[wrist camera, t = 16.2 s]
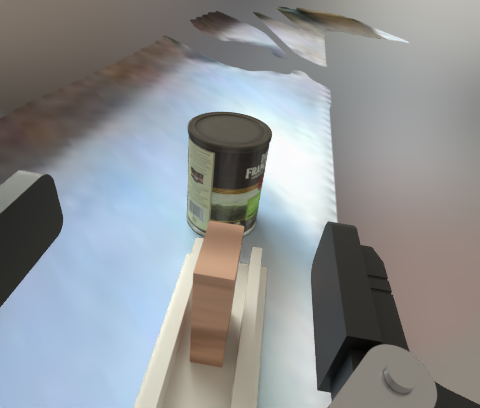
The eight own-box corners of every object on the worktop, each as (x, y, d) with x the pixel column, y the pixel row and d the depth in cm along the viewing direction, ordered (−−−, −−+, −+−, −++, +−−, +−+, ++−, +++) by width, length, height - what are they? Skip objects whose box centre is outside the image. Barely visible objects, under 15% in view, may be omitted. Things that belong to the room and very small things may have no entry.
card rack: (248, 498, 25) (255, 480, 23) (113, 473, 25) (107, 453, 23) (266, 272, 43) (271, 249, 40) (186, 259, 43) (187, 235, 41)
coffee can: (265, 208, 53) (282, 123, 45) (240, 250, 45) (255, 156, 37) (206, 189, 56) (211, 104, 47) (172, 225, 48) (171, 131, 40)
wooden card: (221, 367, 32) (234, 280, 24) (189, 361, 32) (193, 273, 25) (231, 312, 36) (244, 226, 29) (203, 307, 36) (209, 220, 29)
